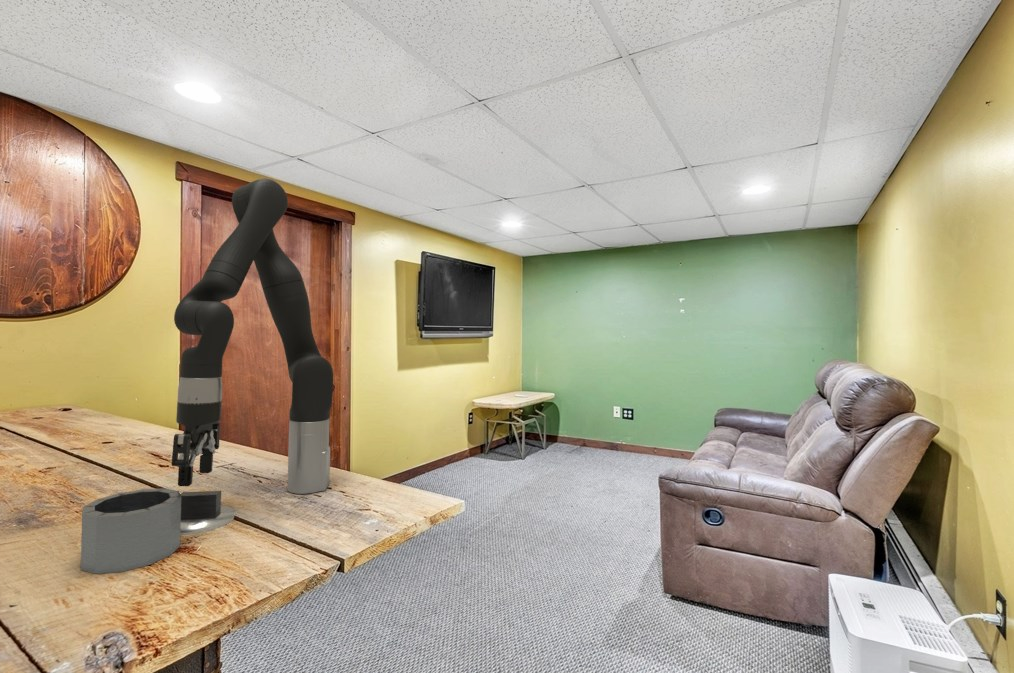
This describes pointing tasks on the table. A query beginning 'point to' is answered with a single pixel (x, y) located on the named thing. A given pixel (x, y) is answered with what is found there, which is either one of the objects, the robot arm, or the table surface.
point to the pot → (130, 530)
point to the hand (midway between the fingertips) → (195, 478)
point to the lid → (203, 512)
